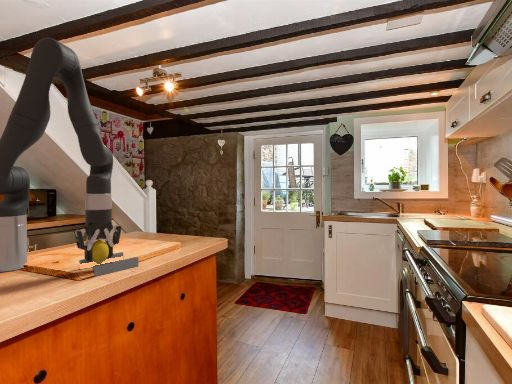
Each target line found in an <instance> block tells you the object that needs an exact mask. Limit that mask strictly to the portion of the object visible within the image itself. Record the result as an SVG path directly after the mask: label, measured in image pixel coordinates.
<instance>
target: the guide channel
mask: <svg viewBox="0 0 512 384" xmlns="http://www.w3.org/2000/svg"><path fill="white" fill-rule="evenodd" d="M121 256H123V257H124V252H123V251H121V252H120V251H119V252H115V253H114V252H113V256H111V258H115V257H121ZM107 259H109V258H107ZM92 262H93V261H92ZM78 263H80V264H82V263H89V262H87V261H86V260H85V259H78ZM136 267H139V257H138V256H136V257H135V256H134V257H129V258H123V260H119V261H115V262H110V263H105V264H100V265H95V266H93V267H92V272H93V271H94V276H93V277H99V276H104V275H107V274H111V273H116V272H119V271H121V272H122V271H125V270H128V269H132V268H136Z"/></svg>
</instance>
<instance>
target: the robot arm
mask: <svg viewBox="0 0 512 384" xmlns="http://www.w3.org/2000/svg"><path fill="white" fill-rule="evenodd" d="M56 75H57V76H58V77H59V79H60V81H61V83H62V84H63V87H64V89H65V92H66V96H67V113H68V118H69V119H70V122H71V125H72V127H73V130H74V132H75V133H76V136H77V139H78V140H77V141H78V146H79V149H80V153H81V156H82V158H83V160H84V161H85V163H86V164H87V165H89V167H90V168H89V169H90V170H89V175H88V176H87V177H86V183H85V188H86V189H85V193H86V194H85V201H84V202H85V206H84V207H85V209H84V210H85V217H84V218H85V225H84V228H82V229H75V230H74V239H75V244H76V248H77V249H79V250H84V251H83V252H84V259H85V260H86V261H87V262H92V250H91V248H92V245H93V244H94V242H96V241H97V240H102V239H103V241H104V242H105V243H106V244H107V245H108V248H109V254H108V257H107V258H111V256H113V254H114V246H115V245H118V244H119V243H120V237H121V232H122V226H121V225H114V224H113V223H112V221H113V200H112V199H113V197H112V182H111V181H112V174H113V169H114V168H113V167H114V155H113V153H112V150H111V149H109V148H108V147H106V146H105V144H104V142H103V139H102V136H101V135H102V131H101V127H100V124H99V122H98V120H97V117H96V115H95V112H94V110H93V108H92V104H91V102H90V99H89V96H88V92H87V88H86V83H85V80H84V77H83V72H82V66H81V63H80V59H79V57H78V55H77V53H76V52H75V51H74V50H73V49H72V48H70V47H69V46H67V45H66V44H64V43H63V42H61V41H58V40H56V39H54V38H53V37H50V36H49V37H43V38H40V39H39V40H38V41H37V42H36V43H35V45H34V46H33V48H32V51H31V55H30V58H29V61H28V65H27V69H26V73H25V76H24V79H23V83H22V85H21V88H20V90H19V92H18V96H17V99H16V101H15V103H14V105H13V107H12V110H11V111H10V114H9V116H8V119H7V122H6V125H5V127H4V130H3V132H2V134H1V136H0V195H4V196H3V199H2V200H0V272H1V273H2V272H10V271H16V270H20V269H23V268H25V267H24V266H23V264H25V263H27V264H28V228H27V227H28V226H27V225H28V223H27V222H28V221H27V217H28V216H27V210H28V208H29V204H30V195H31V194H30V191H31V190H30V189H31V179H30V176H29V173H28V171H27V170H26V169H25V168H24V167H22V166H17V165H16V166H15V164H16V162H17V160H18V159H19V157H20V156H21V155H23V153H24V152H25V151H27V150H29V148H31V147H32V146H33V145H35V144H36V143H37V142H38V141H40V139H41V138H42V137H43V135H44V134H45V131H46V130H47V127H48V125H49V123H50V119H51V101H50V90H51V86H52V84H53V81H54V79H55V77H56ZM111 232H113V233H112V236H111V234H110V233H111ZM85 234H86V235H87V237H86V239H85V242H84V236H85Z"/></svg>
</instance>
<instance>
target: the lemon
mask: <svg viewBox="0 0 512 384" xmlns="http://www.w3.org/2000/svg"><path fill="white" fill-rule="evenodd" d="M91 250H92V261H94V262H96V263H97V264H101V263H102V262H103V261H105V260H106V259H107V257H108V254H109V248H108V245H107V244H106V242H105V240H102V239H98V240H95V242H94V244H93V245H92V248H91Z"/></svg>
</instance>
